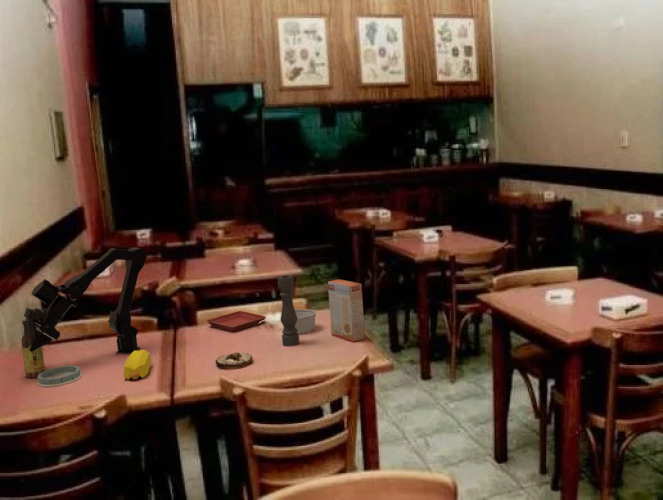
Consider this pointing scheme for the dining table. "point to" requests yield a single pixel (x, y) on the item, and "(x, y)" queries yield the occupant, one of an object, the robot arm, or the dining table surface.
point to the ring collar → (59, 376)
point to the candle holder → (288, 311)
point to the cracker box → (346, 310)
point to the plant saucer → (236, 321)
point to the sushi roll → (234, 360)
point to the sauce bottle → (31, 359)
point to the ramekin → (305, 320)
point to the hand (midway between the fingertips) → (27, 349)
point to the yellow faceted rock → (137, 364)
